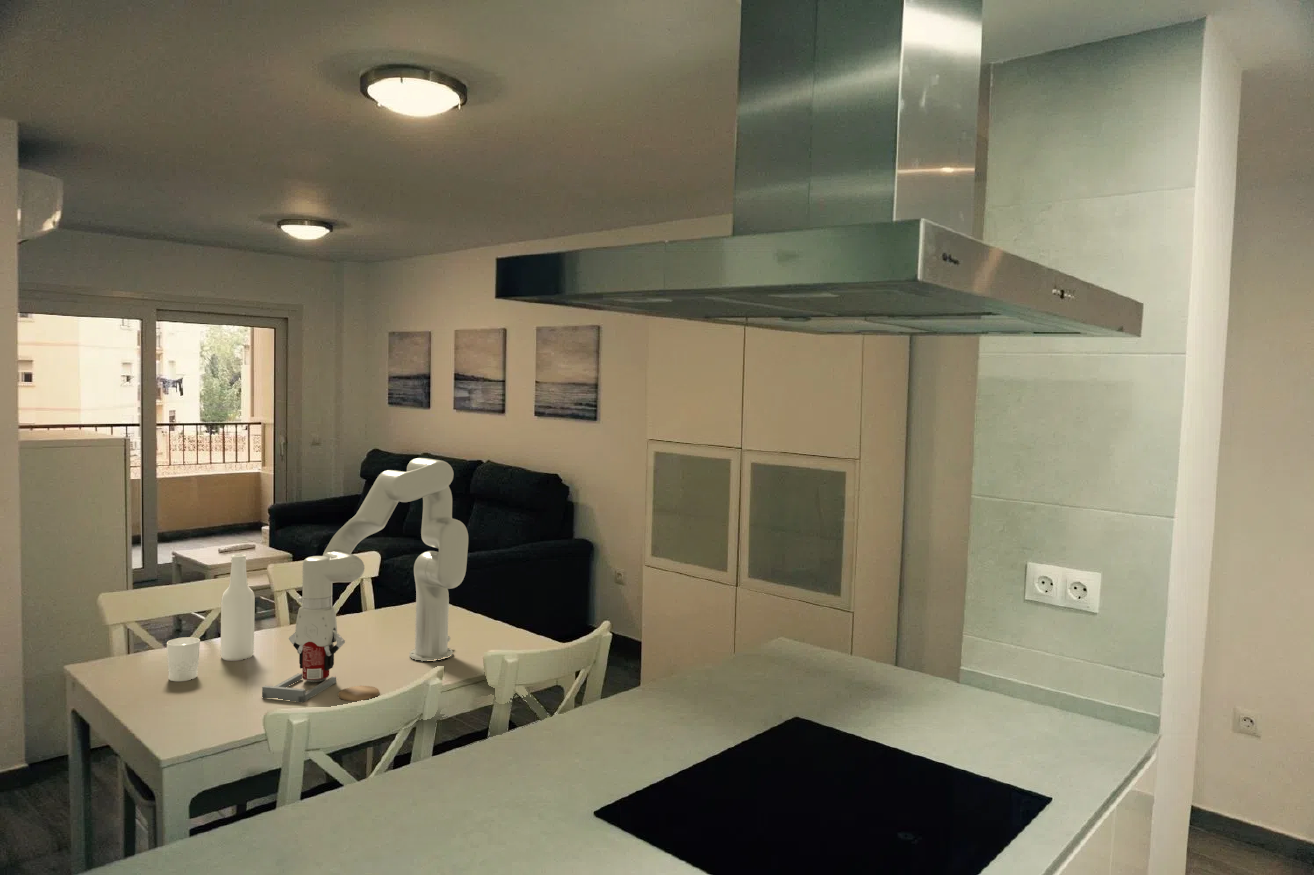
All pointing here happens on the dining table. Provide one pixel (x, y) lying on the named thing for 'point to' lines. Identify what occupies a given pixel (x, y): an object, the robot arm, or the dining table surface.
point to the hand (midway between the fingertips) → (316, 667)
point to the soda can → (314, 663)
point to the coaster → (358, 693)
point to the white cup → (183, 658)
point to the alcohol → (237, 614)
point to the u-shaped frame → (294, 689)
